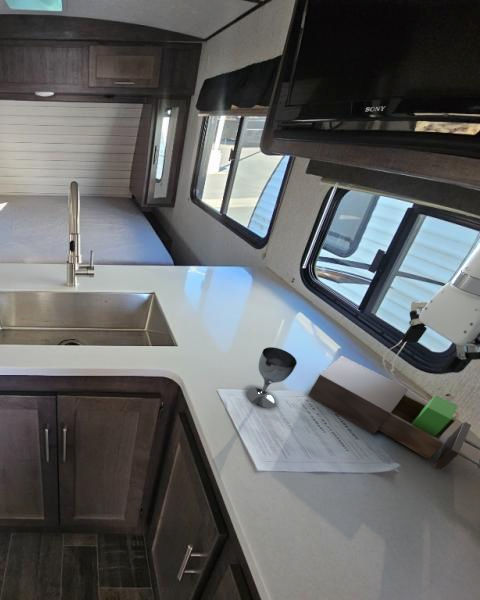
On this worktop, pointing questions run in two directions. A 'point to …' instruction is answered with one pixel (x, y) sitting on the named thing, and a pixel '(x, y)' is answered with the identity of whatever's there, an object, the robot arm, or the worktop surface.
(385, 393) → the cabinet
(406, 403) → the drawer
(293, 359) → the wine glass
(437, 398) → the green rectangular prism
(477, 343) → the robot arm
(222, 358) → the worktop surface
